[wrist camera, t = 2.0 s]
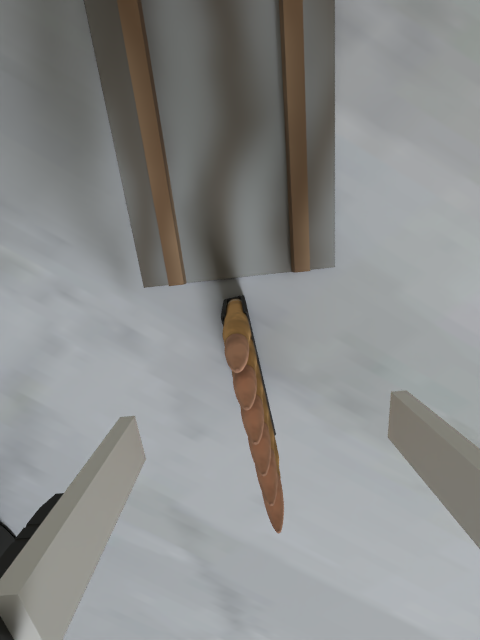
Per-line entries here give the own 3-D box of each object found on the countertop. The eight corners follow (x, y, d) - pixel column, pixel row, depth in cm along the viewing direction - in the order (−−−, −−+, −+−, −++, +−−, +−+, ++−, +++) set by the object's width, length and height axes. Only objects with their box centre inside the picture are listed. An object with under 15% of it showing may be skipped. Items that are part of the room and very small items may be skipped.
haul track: (145, 286, 20) (109, 298, 14) (64, -106, 14) (-57, -364, 8) (332, 266, 20) (373, 270, 14) (331, -139, 14) (401, -423, 8)
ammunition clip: (223, 299, 20) (207, 353, 9) (243, 294, 20) (255, 343, 9) (249, 403, 23) (263, 549, 12) (267, 400, 23) (300, 542, 12)
